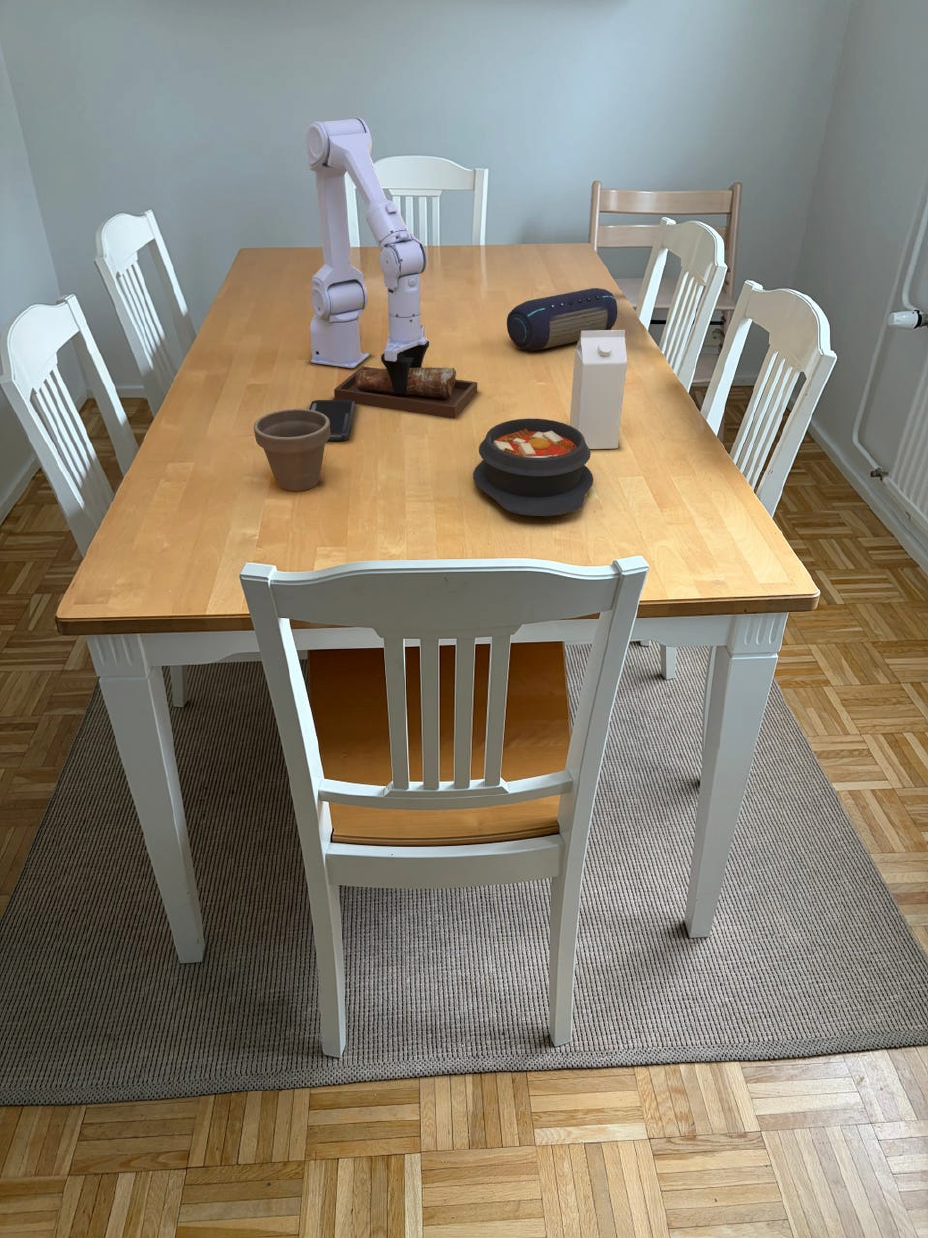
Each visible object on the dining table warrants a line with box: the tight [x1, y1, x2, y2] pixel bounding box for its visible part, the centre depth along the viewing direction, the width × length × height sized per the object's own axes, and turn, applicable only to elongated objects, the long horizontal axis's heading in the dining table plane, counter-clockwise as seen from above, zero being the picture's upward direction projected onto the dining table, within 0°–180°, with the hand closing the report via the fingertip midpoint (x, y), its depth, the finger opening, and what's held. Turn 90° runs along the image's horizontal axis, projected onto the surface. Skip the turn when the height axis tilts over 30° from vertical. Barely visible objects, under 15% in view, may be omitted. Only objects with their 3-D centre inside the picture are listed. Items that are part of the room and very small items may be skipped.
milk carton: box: [568, 329, 628, 450], centre depth 157 cm, size 7×7×19 cm
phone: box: [308, 399, 356, 442], centre depth 167 cm, size 8×1×15 cm
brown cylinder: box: [356, 366, 457, 398], centre depth 175 cm, size 6×19×6 cm, turn 78°
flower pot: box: [253, 408, 330, 492], centre depth 146 cm, size 12×11×10 cm
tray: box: [333, 365, 478, 419], centre depth 177 cm, size 24×13×2 cm, turn 71°
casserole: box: [472, 418, 594, 517], centre depth 146 cm, size 25×19×8 cm
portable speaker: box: [506, 287, 619, 351], centre depth 199 cm, size 25×10×10 cm, turn 123°
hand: (406, 386), depth 176 cm, fingers closed on brown cylinder, 6 cm apart
